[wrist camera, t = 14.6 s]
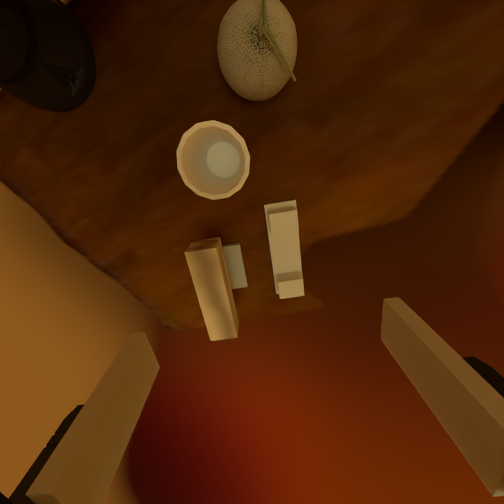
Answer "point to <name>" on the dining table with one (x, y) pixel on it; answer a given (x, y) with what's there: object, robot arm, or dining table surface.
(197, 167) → the foam cup
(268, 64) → the fruit
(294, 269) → the beige bracket
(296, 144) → the dining table surface
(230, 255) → the fulcrum
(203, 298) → the bar
